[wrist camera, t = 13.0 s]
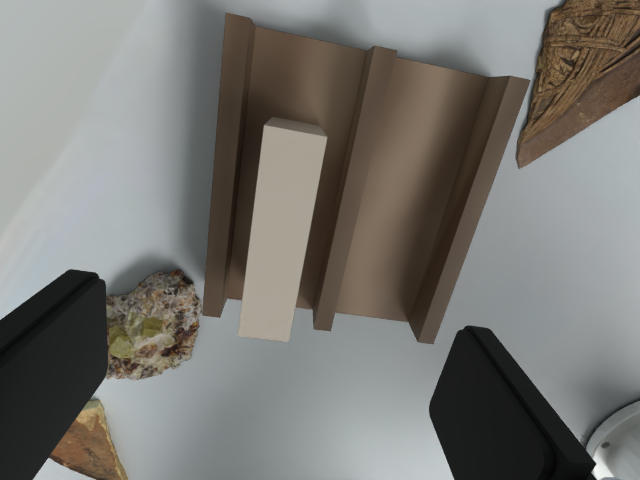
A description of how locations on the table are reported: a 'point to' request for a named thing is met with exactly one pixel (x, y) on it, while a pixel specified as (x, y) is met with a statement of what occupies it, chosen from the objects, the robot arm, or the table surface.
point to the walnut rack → (359, 171)
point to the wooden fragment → (581, 71)
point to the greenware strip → (280, 226)
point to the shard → (90, 446)
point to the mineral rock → (151, 327)
